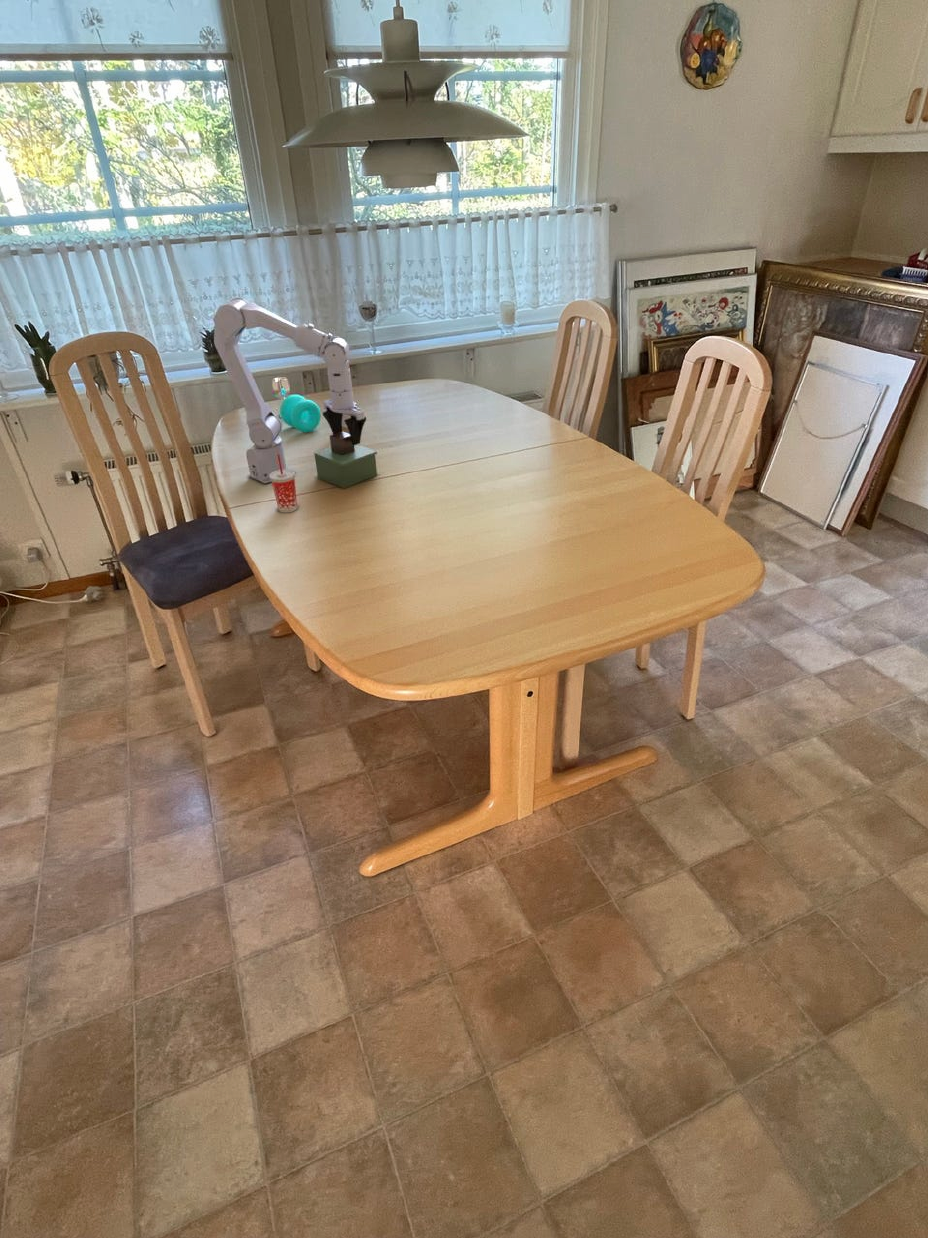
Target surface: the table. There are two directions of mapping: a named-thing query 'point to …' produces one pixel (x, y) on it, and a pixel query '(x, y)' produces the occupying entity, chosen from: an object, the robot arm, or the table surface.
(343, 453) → the block
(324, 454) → the lid
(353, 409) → the robot arm
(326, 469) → the chest
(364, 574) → the table surface
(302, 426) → the donuts
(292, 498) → the beverage cup
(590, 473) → the table surface
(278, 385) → the wineglass
